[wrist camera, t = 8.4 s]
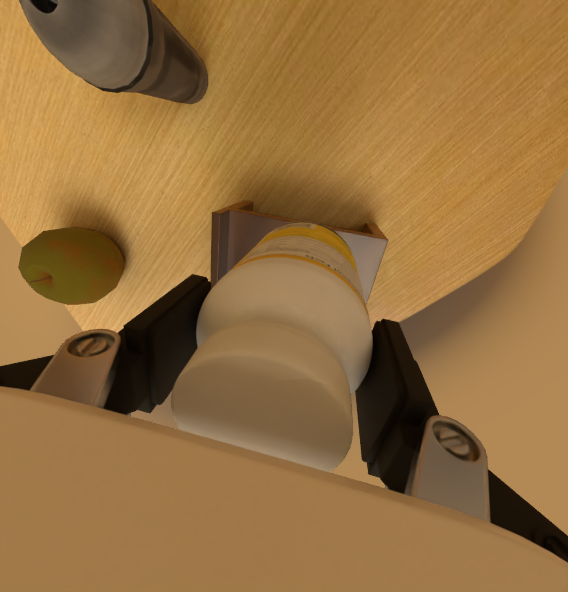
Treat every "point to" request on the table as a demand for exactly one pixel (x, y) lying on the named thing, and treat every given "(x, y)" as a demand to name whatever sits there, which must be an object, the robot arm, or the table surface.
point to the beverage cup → (120, 46)
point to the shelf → (255, 226)
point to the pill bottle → (281, 350)
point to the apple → (72, 265)
